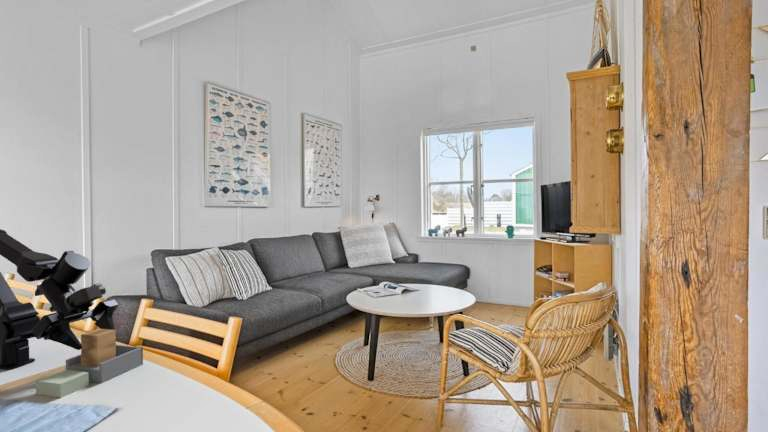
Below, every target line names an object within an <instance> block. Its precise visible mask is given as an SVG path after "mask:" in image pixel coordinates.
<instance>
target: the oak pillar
mask: <svg viewBox="0 0 768 432" xmlns="http://www.w3.org/2000/svg"><path fill="white" fill-rule="evenodd" d="M116 331H117V330H116V329H115V330H110V329H100V328H98V329H94V330H91V331H88V332H85V333H81V334H80V343H81V345H82V348H81V349H80V355H81V365H87V366H95V367H98V366H99V364H100V363H102V362H105V361H107V360H110V359H112V358H115V357H116V345H117V341H116V340H117V338H116V336H117V333H116Z"/></svg>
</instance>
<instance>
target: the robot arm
mask: <svg viewBox="0 0 768 432" xmlns="http://www.w3.org/2000/svg"><path fill="white" fill-rule="evenodd" d="M0 256H1V257H3V258H5V259H6V260H7V261H9V262H10V263H12V264H14V265H15V266H16V272H17V274H18V275H19V276H20V277H22V279H24V280H25V281H26V282H28V283H29V282H30V283H31V282H37V281H41V283H40V284H37V285H36V289H35V290H34V296H35V297H38V296H43V295H44V297H45V299H46V300H47V301H48V303H49V304H50V307H49V311H50V312H52V313H49V314H46V315H45V314H44V315H42V317H41V318H40V316H39V313H40V312H38V311H37V310H36V308H35V307H34V304H33V303H32V302H30V301H29V302H24V303H23V302H20V301H19V300H18V298H17V297H16V294H15V293H14V291H13V290H12V289H11V287H10V285H9V283H8V282H7V280H6V279H5V277H4V276H3V274H2V272H1V271H0V369H3V370H12V369H15V368H17V367H20V366H23V365H27V364H29V363H32V362H35V361H36V358H32V357H30V345H29V344H30V343H29V339H33V338H36V339H37V340H40V339H43V340H44V341H47V340H49V341H53V342H55V343H59V344H62V345H65V346H66V347H70V348H73V349H75V350H77V351H81V348H82V345H81V341H80V340H79V339H78V337H77V336H76V335H75V333H74V332H73V330H72V329H71V326H70V324H71V323H72V324H73V323H74V322H75V323H76V322H79V321H82V320H85V319H89V318H90V319H91V320H92V321H93V322H95V323H94V325H95V326H96V327H97V328H98V329H110V330H116V329H115V325H114V321H113V320H114V319H113V315H114V313H115V312H116V310H117V308H118V307H119V306H120V304H119V303H118V302H117V300H115V299H113V298H111V299H106V300H103V301H99V302H98V303H97V304H96V306H95V307H94V308H92V309H90V307H92V306H93V305H94V304H95V303H94V302H95V301H96V300H99V299H102V298H103V295H105V294H106V293H107V289H106V288H105V286H104V285H103V283H101V282H99V283H94V284H93V285H90V286H88V287H83V288H80V289H79V290H76V289H75V288H74V287H73V286H72V285H74V284H76V283H78V282H79V280H81V278H82V277H83V275H84V274H85V273H86V272H87V271H88V269H89V268H90V267H91V264H92V263H91V261H90V259H89V258H88V257H86V256H83V255H82V254H80V253H76V252H75V251H74V250H65V251H64V252H63V253H62V255H61V257H60V258H59V259H58V258H57V257H55V256H53V255H51V254H48V253H43V252H38V251H34V250H33V249H31V248H29V247H28V246H26V245H25V244H23V243H21V242H20V241H19V240H17V239H16V238H14V237H13V236H11V235H9V234H8V233H7V231H6V230H4V229H1V228H0ZM53 312H54V313H53Z"/></svg>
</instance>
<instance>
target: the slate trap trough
mask: <svg viewBox="0 0 768 432" xmlns="http://www.w3.org/2000/svg"><path fill="white" fill-rule="evenodd" d="M143 364H144V347H143V346H142V347H141V346H134V345H124V344H123V345H122V344H116V357H115V358H112V359H110V360H107V361H105V362H102V363H100V364H99V366H98V367H95V366H87V365H81V354H78V355H75V356H72V357H70V358H67V359H65V370H73V371H81V372H89V382H93V383H99V384H100V383H101V384H102V383H103V384H104V383H105V382H106V381H109V380H111V379H113V378H116V377H118V376H120V375H122V374H124V373H127V372H128V371H129V372H130V371H131V370H133V369H135V368H138V367H139V366H142V365H143Z"/></svg>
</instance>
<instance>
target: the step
mask: <svg viewBox="0 0 768 432" xmlns="http://www.w3.org/2000/svg"><path fill="white" fill-rule="evenodd" d="M89 382H90V381H89V372H81V371H73V370H66V369H63V370H60V371H58V372H54V373H53V374H50V375H46V376H44V377H42V378H39V379H37V380H35V394H36V395H39V396H46V397H54V398H60V399H61V398H63V397H66V396H68V395H70V394H72V393H74V392H76V391H79V390H81V389H83V388H86V387H88V386H89V385H90V384H89Z"/></svg>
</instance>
